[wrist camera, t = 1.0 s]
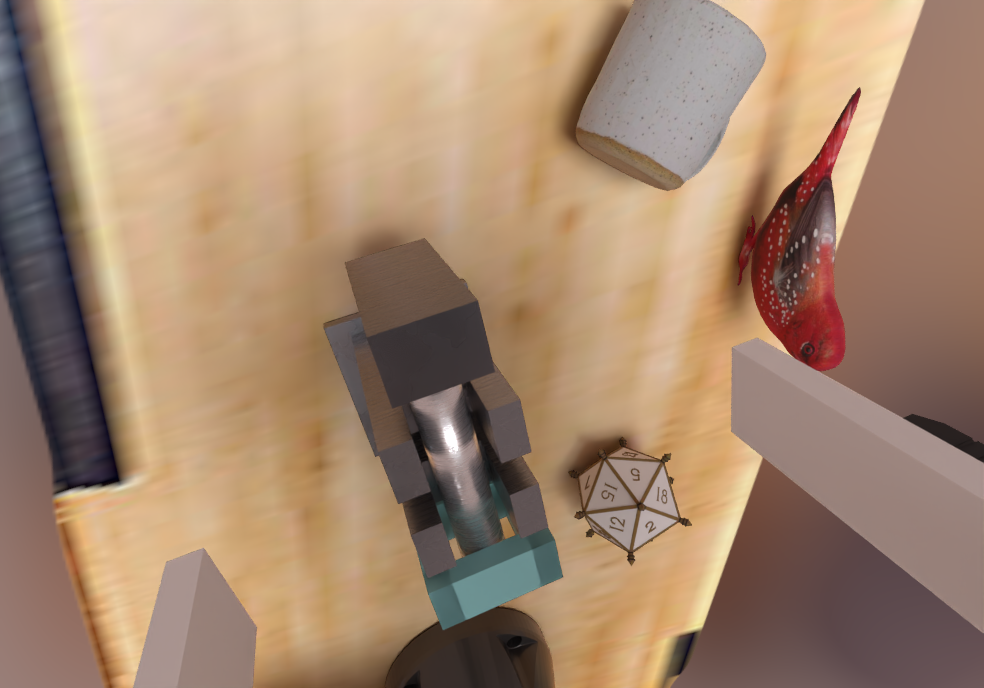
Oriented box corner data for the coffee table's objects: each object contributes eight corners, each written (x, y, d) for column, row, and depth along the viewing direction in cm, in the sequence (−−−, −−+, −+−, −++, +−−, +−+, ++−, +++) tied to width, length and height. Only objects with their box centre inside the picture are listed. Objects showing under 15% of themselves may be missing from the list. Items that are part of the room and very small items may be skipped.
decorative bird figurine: (708, 334, 43) (811, 396, 35) (760, 86, 36) (907, 86, 27) (738, 330, 44) (846, 390, 36) (794, 87, 37) (948, 88, 28)
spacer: (518, 495, 36) (562, 577, 30) (417, 536, 35) (442, 630, 29) (509, 461, 35) (554, 539, 29) (403, 502, 34) (428, 593, 28)
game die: (601, 430, 49) (716, 473, 44) (567, 522, 48) (681, 577, 43) (569, 413, 41) (705, 463, 36) (528, 522, 40) (662, 589, 35)
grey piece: (500, 513, 36) (557, 631, 28) (442, 537, 35) (484, 664, 28) (424, 238, 27) (477, 300, 19) (344, 262, 26) (366, 337, 18)
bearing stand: (494, 405, 40) (574, 531, 29) (373, 450, 38) (407, 602, 27) (463, 278, 35) (543, 370, 24) (323, 323, 33) (338, 444, 22)
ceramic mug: (546, 135, 33) (611, 150, 26) (611, -7, 31) (700, -29, 24) (670, 204, 38) (751, 231, 31) (734, 86, 36) (836, 88, 29)
